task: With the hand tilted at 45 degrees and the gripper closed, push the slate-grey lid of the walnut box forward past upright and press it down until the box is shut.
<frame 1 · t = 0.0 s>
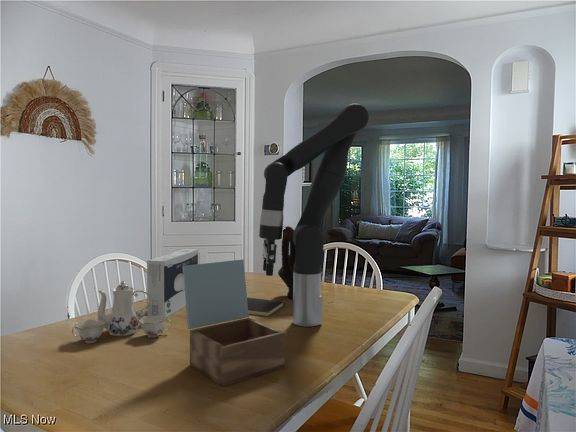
hand: (267, 273, 149), 17 cm above the table, tool pointing down, fingers open, 8 cm apart
lid: (216, 292, 122), point 17 cm above the table, hinge at 100.0°
box: (236, 366, 115), on the table
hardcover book: (247, 309, 172), on the table
chinaware: (123, 335, 138), on the table
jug: (298, 297, 189), on the table
packaging: (175, 308, 170), on the table
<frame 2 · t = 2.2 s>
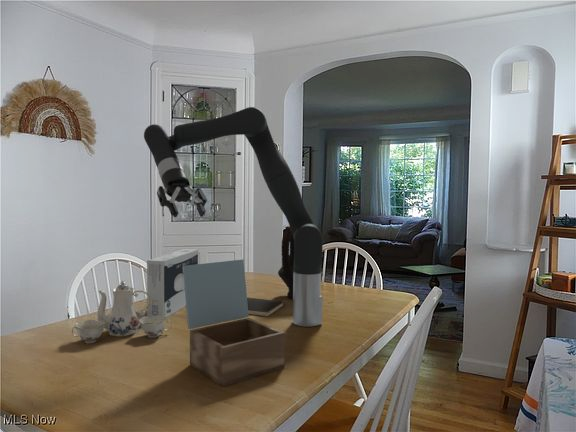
hand: (190, 215, 133), 37 cm above the table, tool tilted 45°, fingers open, 8 cm apart
nothing on the table moved.
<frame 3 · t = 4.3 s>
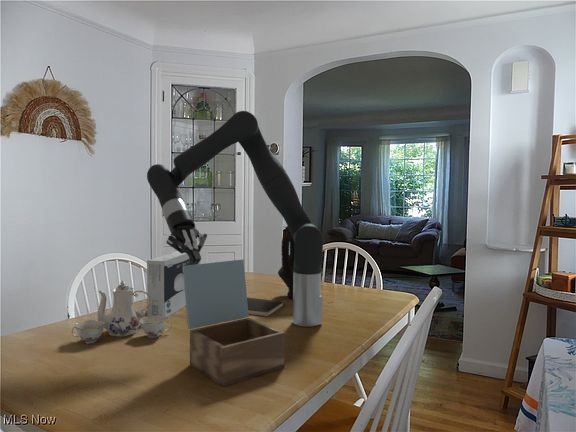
hand: (197, 262, 130), 24 cm above the table, tool tilted 45°, fingers closed
nothing on the table moved.
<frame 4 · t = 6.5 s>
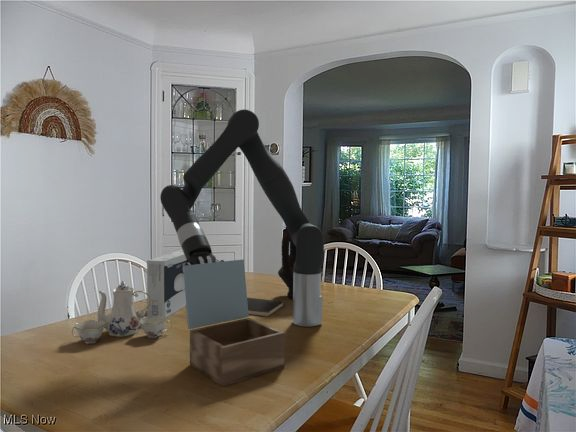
hand: (214, 292, 123), 17 cm above the table, tool tilted 45°, fingers closed
lid: (217, 292, 122), point 17 cm above the table, hinge at 99.5°, touching gripper
everything else where it was.
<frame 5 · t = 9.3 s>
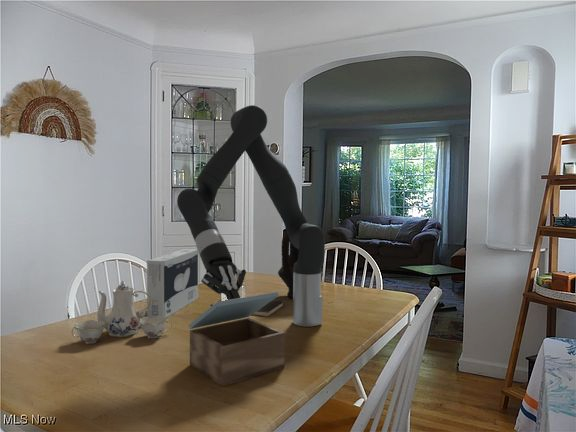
hand: (236, 304, 114), 16 cm above the table, tool tilted 45°, fingers closed
lid: (233, 310, 116), point 14 cm above the table, hinge at 32.7°, touching gripper
everything else where it was.
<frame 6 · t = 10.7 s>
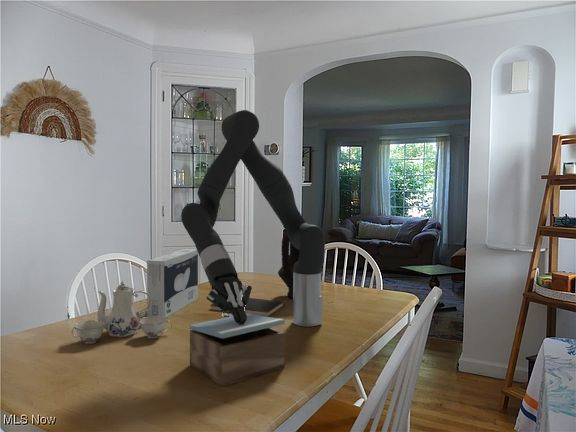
hand: (242, 322, 112), 12 cm above the table, tool tilted 45°, fingers closed
lid: (236, 324, 115), point 11 cm above the table, hinge at 6.7°, touching gripper
everything else where it was.
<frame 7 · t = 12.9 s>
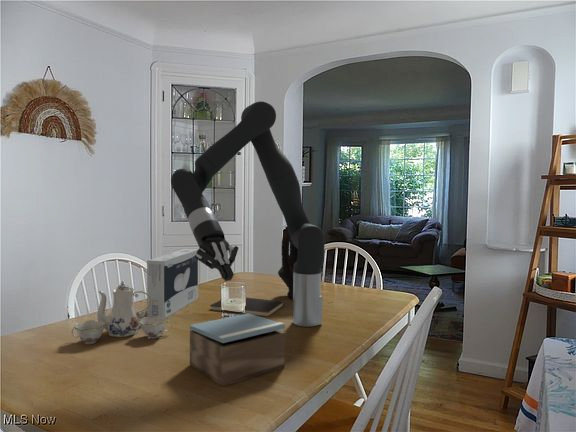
hand: (229, 278, 117), 22 cm above the table, tool tilted 45°, fingers closed
lid: (237, 326, 115), point 10 cm above the table, hinge at 2.9°
everything else where it was.
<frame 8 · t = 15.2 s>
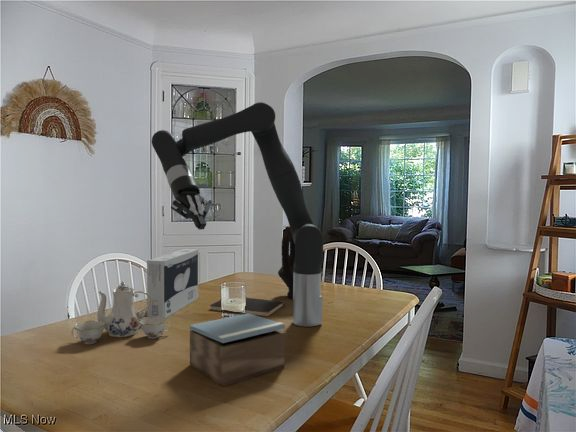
hand: (202, 227, 127), 34 cm above the table, tool tilted 45°, fingers closed
at the end: lid at +3° (first picture: +100°) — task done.
